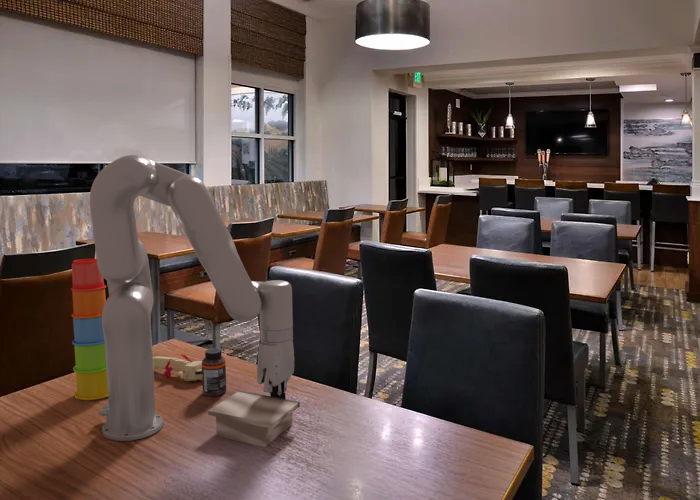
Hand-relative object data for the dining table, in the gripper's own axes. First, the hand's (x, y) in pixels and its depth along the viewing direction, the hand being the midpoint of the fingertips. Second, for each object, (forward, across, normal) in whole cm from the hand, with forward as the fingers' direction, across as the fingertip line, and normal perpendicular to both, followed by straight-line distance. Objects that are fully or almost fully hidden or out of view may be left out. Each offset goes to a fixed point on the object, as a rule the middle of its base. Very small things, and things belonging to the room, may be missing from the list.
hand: (278, 408), depth 133 cm
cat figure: (+1, -10, -40) cm, 41 cm away
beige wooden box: (+1, +10, 0) cm, 10 cm away
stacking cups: (+1, +9, -48) cm, 49 cm away
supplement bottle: (+1, -4, -21) cm, 22 cm away
